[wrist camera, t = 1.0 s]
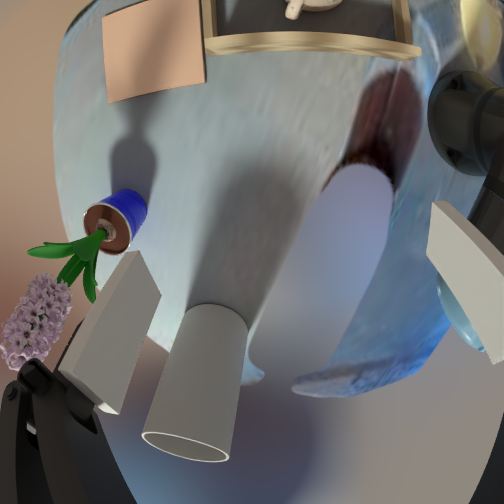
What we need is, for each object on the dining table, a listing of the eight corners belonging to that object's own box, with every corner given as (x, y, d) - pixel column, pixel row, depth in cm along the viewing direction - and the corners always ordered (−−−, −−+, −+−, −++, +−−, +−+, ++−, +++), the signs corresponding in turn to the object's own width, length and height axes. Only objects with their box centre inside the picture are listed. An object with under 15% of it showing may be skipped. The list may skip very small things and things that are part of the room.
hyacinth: (107, 167, 37) (-52, 294, 11) (162, 198, 39) (28, 370, 14) (94, 212, 41) (-29, 344, 16) (144, 241, 43) (41, 402, 18)
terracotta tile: (198, -11, 22) (197, -13, 22) (205, 82, 30) (204, 82, 29) (104, 18, 24) (102, 17, 23) (111, 103, 31) (108, 103, 31)
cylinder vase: (246, 303, 48) (222, 443, 27) (250, 348, 54) (233, 465, 34) (177, 299, 49) (127, 423, 28) (190, 343, 56) (158, 452, 35)
